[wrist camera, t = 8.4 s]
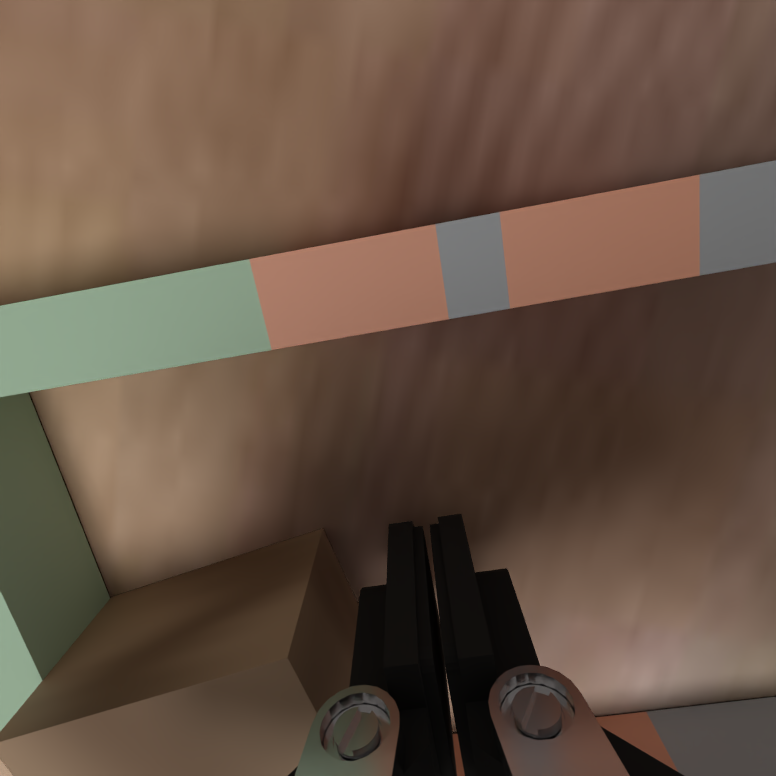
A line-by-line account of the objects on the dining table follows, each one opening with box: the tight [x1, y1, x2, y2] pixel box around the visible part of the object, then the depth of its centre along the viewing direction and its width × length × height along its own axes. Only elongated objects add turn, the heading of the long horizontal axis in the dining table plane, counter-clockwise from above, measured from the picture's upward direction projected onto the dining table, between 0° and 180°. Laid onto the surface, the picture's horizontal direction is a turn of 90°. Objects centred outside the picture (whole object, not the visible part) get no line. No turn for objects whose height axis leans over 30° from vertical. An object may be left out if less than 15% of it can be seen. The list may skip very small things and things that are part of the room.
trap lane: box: [0, 160, 776, 776], centre depth 11 cm, size 25×15×2 cm, turn 100°
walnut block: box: [0, 528, 359, 776], centre depth 11 cm, size 6×6×4 cm
